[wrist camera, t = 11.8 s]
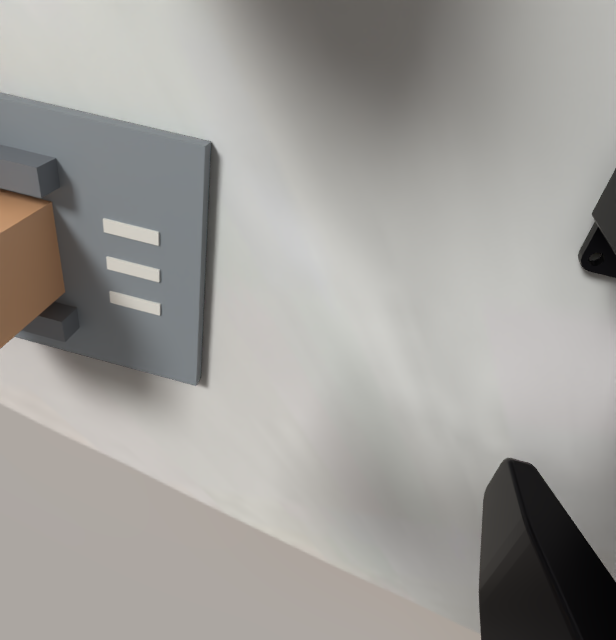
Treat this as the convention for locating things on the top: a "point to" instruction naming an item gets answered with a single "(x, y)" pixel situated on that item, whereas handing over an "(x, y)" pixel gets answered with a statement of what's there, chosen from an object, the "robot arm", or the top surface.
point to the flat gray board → (116, 233)
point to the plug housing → (26, 261)
